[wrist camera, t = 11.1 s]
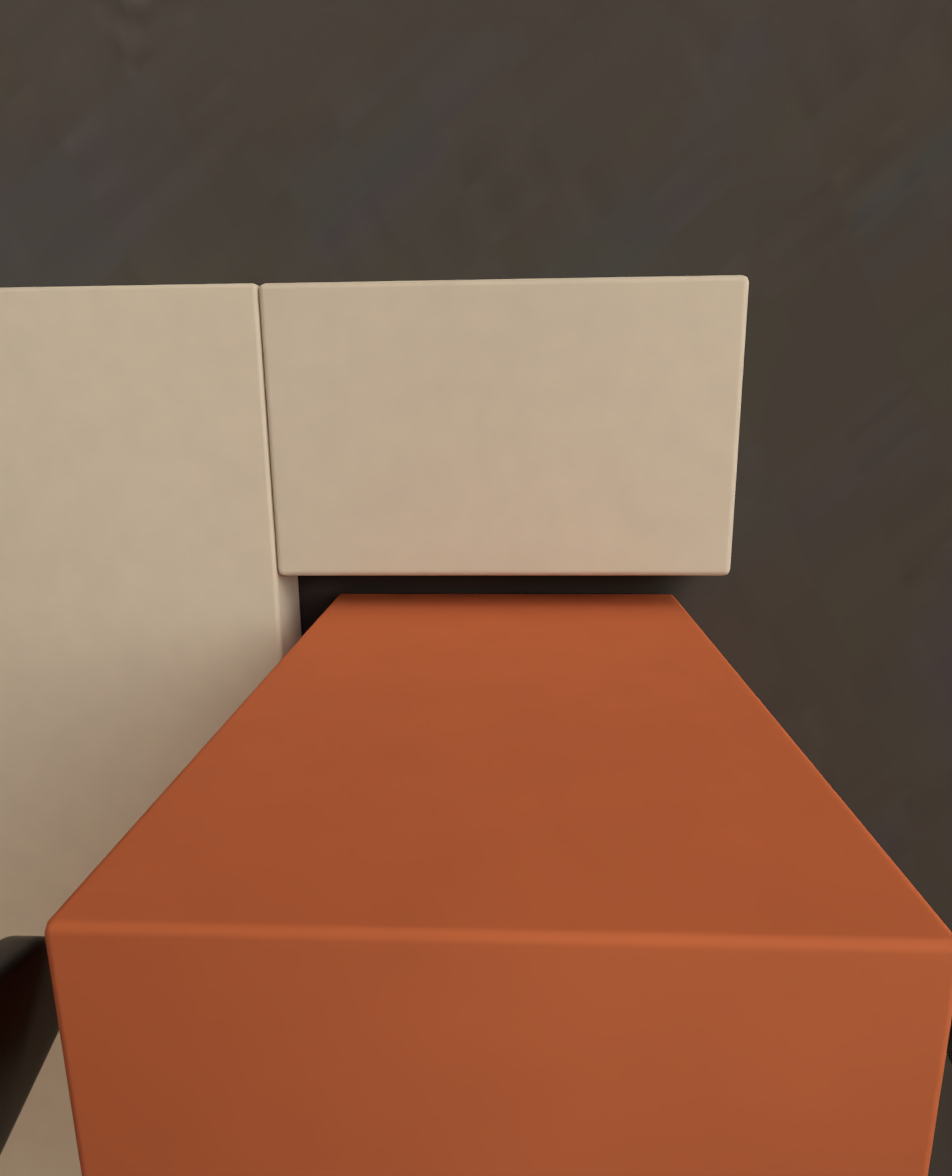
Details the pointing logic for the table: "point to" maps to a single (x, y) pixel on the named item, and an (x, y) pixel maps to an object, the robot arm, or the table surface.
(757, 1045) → the orange block
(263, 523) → the base pad
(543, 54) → the table surface
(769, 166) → the table surface
